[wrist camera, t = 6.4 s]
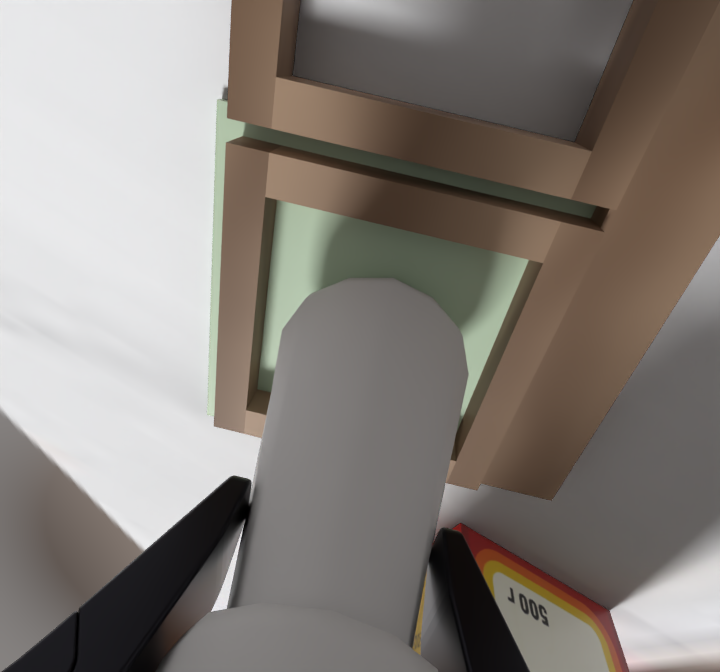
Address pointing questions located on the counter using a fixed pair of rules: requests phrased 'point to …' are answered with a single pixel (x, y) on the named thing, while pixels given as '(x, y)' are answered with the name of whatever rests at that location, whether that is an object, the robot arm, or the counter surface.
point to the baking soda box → (543, 614)
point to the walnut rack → (493, 223)
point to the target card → (373, 254)
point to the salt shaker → (342, 490)
